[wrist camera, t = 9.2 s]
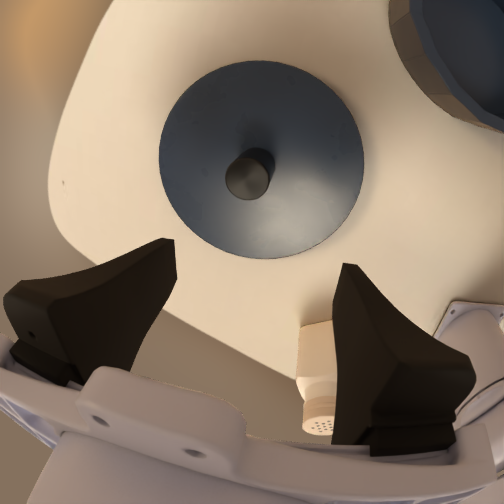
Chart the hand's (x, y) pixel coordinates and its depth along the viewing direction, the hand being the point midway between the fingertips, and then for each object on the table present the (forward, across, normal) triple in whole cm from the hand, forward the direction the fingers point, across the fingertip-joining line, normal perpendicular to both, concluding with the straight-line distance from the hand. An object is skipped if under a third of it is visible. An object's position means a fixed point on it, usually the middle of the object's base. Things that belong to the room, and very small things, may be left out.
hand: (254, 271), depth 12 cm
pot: (+9, -13, -14) cm, 21 cm away
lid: (+9, +1, -2) cm, 9 cm away
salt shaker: (+10, -6, +12) cm, 16 cm away
